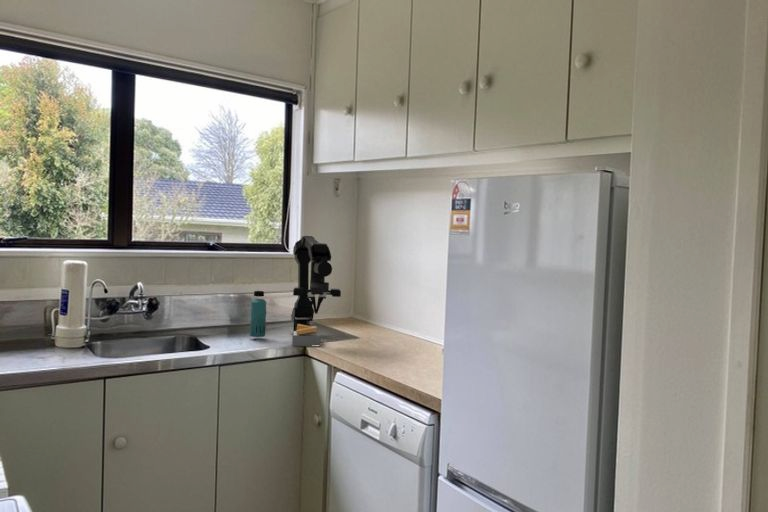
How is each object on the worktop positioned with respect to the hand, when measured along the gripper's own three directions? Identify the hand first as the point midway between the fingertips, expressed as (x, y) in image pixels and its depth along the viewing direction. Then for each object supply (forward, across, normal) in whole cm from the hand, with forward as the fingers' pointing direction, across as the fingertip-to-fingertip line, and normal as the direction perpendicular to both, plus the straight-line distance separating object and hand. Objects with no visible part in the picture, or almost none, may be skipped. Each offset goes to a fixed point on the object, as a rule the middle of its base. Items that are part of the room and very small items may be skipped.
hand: (316, 313), depth 230 cm
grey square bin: (+13, -4, +3) cm, 13 cm away
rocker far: (+7, -4, +6) cm, 9 cm away
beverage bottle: (+13, -24, +10) cm, 28 cm away
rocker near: (+7, -4, 0) cm, 8 cm away
